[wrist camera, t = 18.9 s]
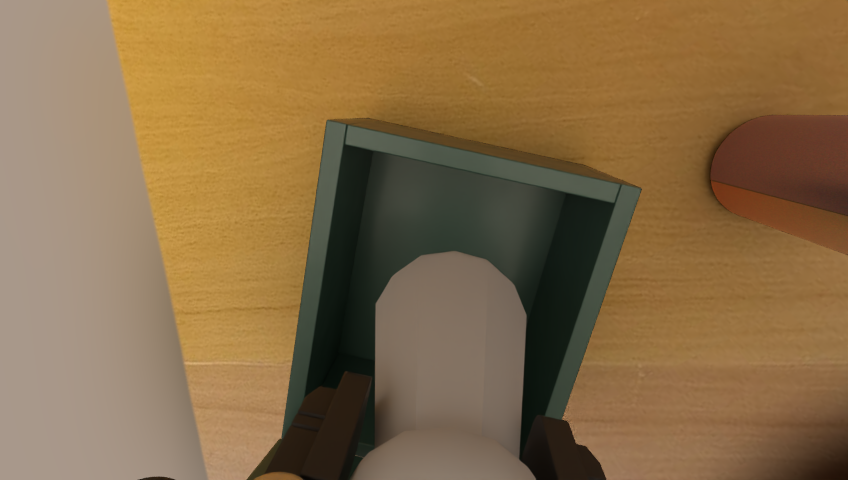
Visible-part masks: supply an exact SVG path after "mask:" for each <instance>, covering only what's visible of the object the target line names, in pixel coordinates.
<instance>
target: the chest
mask: <svg viewBox="0 0 848 480" xmlns="http://www.w3.org/2000/svg"><path fill="white" fill-rule="evenodd" d="M641 190H642V189H641V188H640V187H637V186H635V185H632V184H630V183H627V182H625V181H623V180H620V179H618V178H615V177H613V176H610V175H608V174H605V173H603V172H600V171H598V170H595V169H593V168H590V167H588V166H585V165H581V164H577V163H572V162H567V161H563V160H558V159H554V158H549V157H545V156H540V155H535V154H531V153H526V152H522V151H517V150H512V149H508V148H503V147H499V146H494V145H489V144H485V143H480V142H476V141H471V140H466V139H462V138H457V137H453V136H448V135H443V134H439V133H434V132H430V131H425V130H420V129H416V128H411V127H407V126H402V125H397V124H393V123H388V122H384V121H379V120H375V119H370V118H355V119H333V120H327V122H326V129H325V136H324V143H323V150H322V157H321V164H320V171H319V178H318V185H317V192H316V199H315V206H314V213H313V220H312V227H311V234H310V241H309V248H308V255H307V262H306V269H305V276H304V283H303V290H302V297H301V304H300V311H299V318H298V325H297V333H296V340H295V347H294V354H293V361H292V368H291V375H290V382H289V389H288V396H287V403H286V410H285V417H284V424H283V431H282V439H283V438H284V436H285V434H286V432H287V430H288V429H289V427H290V426H291V424H292V421H293V419H294V417H295V416H296V414H297V413H298V410H299V408H300V406H301V404H302V402H303V401H304V399H305V397H306V396H307V395H308V394H310V393H311V392H312V391H314V390H315V389H317V388H318V387H319V386H323V387H328V388H332V389H336V390H337V388H338V386H339V383H340V381H341V379H342V377H343V374H344V372H345V371H348V372H353V373H357V374H362V375H366V376H371V377H372V382H371V388H370V392H369V397H368V402H367V407H366V412H365V417H364V422H363V427H362V432H361V436H360V440H359V444H358V448H357V451H356V456H360V457H365V456H366V455H367V454H368V453H369V452H370V451H372V450H373V449H375V320H376V303H377V301H378V299H379V298H380V296H381V294H382V292H383V291H384V289H385V287H386V286H387V284H388V282H389V281H390V279H391V277H392V276H393V275H394V274H396V273H397V272H398V271H400V270H401V269H403V268H404V267H405V266H407V265H408V264H410V263H411V262H413V261H414V260H415V259H417V258H418V257H420V256H421V255H427V254H435V253H442V252H450V251H457V252H461V253H464V254H468V255H472V256H475V257H479V258H483V259H486V260H488V261H489V262H490V263H491V264H492V265H493V266H495V267H496V268H497V269H498V270H499V271H500V272H501V273H502V274H503V275H504V276H506V277H507V278H508V279H509V280H510V281H511V282H512V283H513V284H514V285H515V288H516V290H517V293H518V295H519V298H520V300H521V303H522V305H523V308H524V310H525V313H526V315H527V318H526V337H525V357H524V376H523V395H522V414H521V434H520V453H519V460H520V461H521V458H522V455H523V452H524V449H525V446H526V443H527V440H528V437H529V434H530V431H531V428H532V425H533V422H534V419H535V417H536V416H537V415H542V416H546V417H551V418H555V419H560V420H562V417H563V414H564V411H565V408H566V406H567V403H568V400H569V397H570V394H571V391H572V388H573V385H574V383H575V380H576V377H577V374H578V371H579V368H580V365H581V362H582V360H583V357H584V354H585V351H586V348H587V345H588V342H589V339H590V337H591V334H592V331H593V328H594V325H595V322H596V319H597V316H598V313H599V311H600V308H601V305H602V302H603V299H604V296H605V293H606V290H607V288H608V285H609V282H610V279H611V276H612V273H613V270H614V267H615V265H616V262H617V259H618V256H619V253H620V250H621V247H622V244H623V242H624V239H625V236H626V233H627V230H628V227H629V224H630V221H631V219H632V216H633V213H634V210H635V207H636V204H637V201H638V198H639V196H640V193H641Z"/></svg>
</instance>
